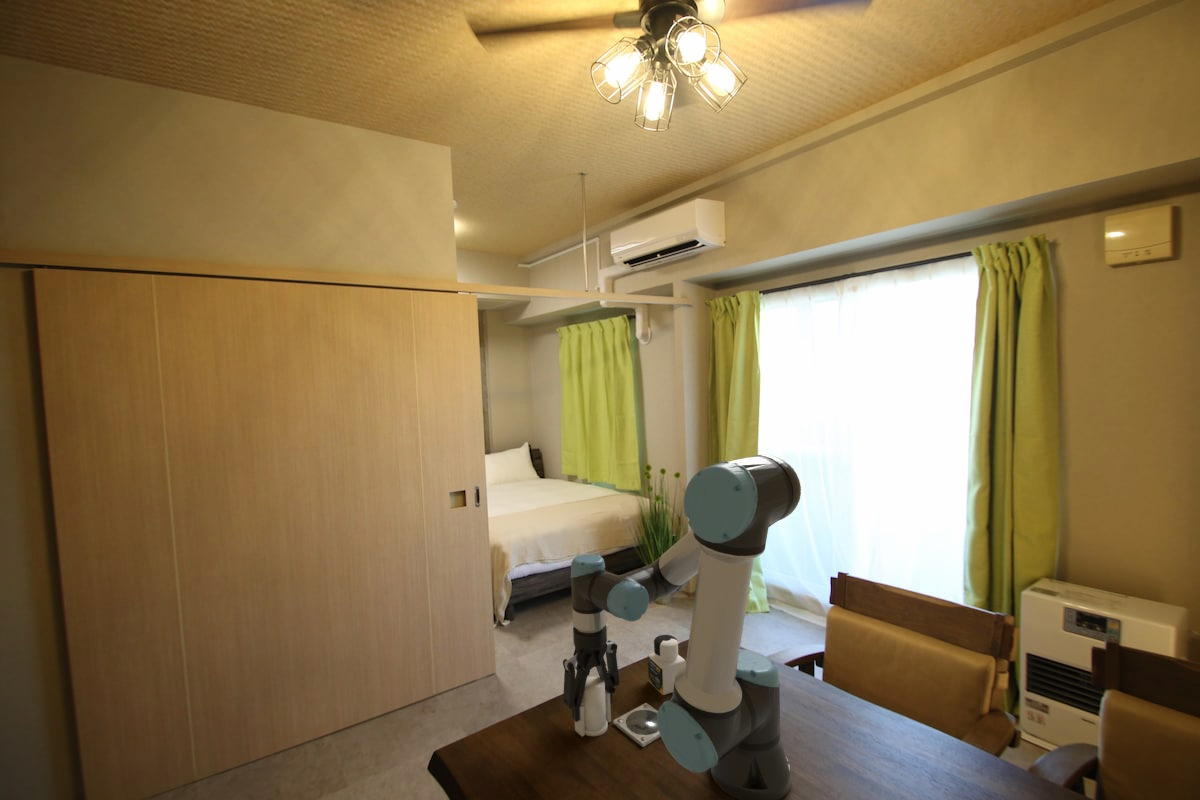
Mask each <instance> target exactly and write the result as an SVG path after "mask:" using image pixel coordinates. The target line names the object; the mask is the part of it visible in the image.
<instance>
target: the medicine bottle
mask: <svg viewBox="0 0 1200 800" xmlns="http://www.w3.org/2000/svg"><path fill="white" fill-rule="evenodd" d="M684 666H686V659H684V658H683V657H682V656H681V655H679V640H678V639H677V638H676V637H675V636H673V635H670V634H660V635H658V636H656V637H655V638H654V640H653V653H650V654H648V655H647V668H648V669H647V671H648V672H647V675H648V678H647V679H648V682H649V683H650V684H651V685H652V686H653V687H654V688H655V689H656V690H657V691H658V693H660V694H661V695H662V696H665V695H668V694H671V693H672V694H673V690H674V682H675V677H676V674H677V672H678V671H679V670H680V669H681V668H682V667H684Z"/></svg>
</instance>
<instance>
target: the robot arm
mask: <svg viewBox="0 0 1200 800" xmlns="http://www.w3.org/2000/svg"><path fill="white" fill-rule="evenodd" d="M692 476H693V477H692V478H691V479H690V480H689V482H688V483H687V485H686V488H685V491H684V494H683V511H684V512H683V513H684V516H685V517H687V518H688V521H687V523H688V525H689V527H690V530H689V531H688V532H687V533H686V534H685V535H683V536H682V537H681V538H680V539H679V540H677V541H676V542H675V543H674V544H673V545H672V546H671V547H669V549H667V550H666V551H665V552H664V553H663V554H661V556H659V557H658V558H657V559H656V560H654V561H653V562H652V563H650V564H648V565H645V566H642V567H639V568H637V569H633V570H631V571H628V572H626V573H623V574H619V575H618V574H615V573H612V572H609V571H608V570H606V563H605V559H604V558H603V557H602V556H601V555H599V554H594V553H586V554H581V555H577V556H575V557H574V558H573V559H572V561H571V566H570V577H569V578H570V582H571V583H570V586H571V588H570V589H571V602H572V603H571V605H572V608H571V609H572V626H573V629H572V634H573V636H572V637H573V638H572V639H573V645H574V652H573V655H572V657H570V658H569V659H567V658H564V659H563V661H562V665H563V669H564V674H563V675H564V677H563V678H564V679H563V695H562V696H563V699H562V700H563V701H562V703H563V704H564V705H565V706H566V707H568V708H569V709H571V718H572V720H573V721H574V731H575V732H576V733H577V734H578V735H579V736H581V737H584V736H585V724H584V706H583V705H582V704H581V702H582V697H583V693H584V688H585V684H586V680H587V677H590V676H589V675H590V672H591V670H592V669H593V668H596V671H597V675H598V677H599V678H601V679H603V680H604V682H605V703H606V719H607V722H608V723H610V722H611V721H612V714H611V712H612V711H611V705H612V704H613V701H614V700H613V694H614V693H616V688H615V687H618V686H619V685H620V676H619V668H618V667H619V666H618V658H617V651H618V644H616V643H615V642H613V641H612V640H611V639H610V640H608V631H607V630H608V629H607V613H609V614H611V615H612V616H614V617H615V618H618V619H622V620H625V621H627V622H636V621H639V620H640V619H641V618H642V616H643V615H644V614H646V612H647V609H648V608H649V605H651V604H652V603H654V602H656V601H658V600H661V599H663V598H665V597H668V596H672V595H674V594H676V593H678V592H680V591H682V590H683V589H684V588H685V587H686V585H687V582H688V581H690V580H691V579H692V578H693V577H695V576H696V575H697V576H696V584H695V592H694V599H693V606H692V607H693V608H692V612H691V613H692V615H691V621H690V631H689V638H688V646H687V654H686V659H685V661H686V666H684V667H682V668H681V669H680V670H679V671H678V672H677V674H676V677H675V682H674V690H673V692H672V695H671V698H670V699H669V700H666V701H663V703H662V705H661V706H659V708H658V710H657V711H658V713H657V725H658V729H659V733H660V735H661V737H660V738H661V740H662V741H663V743H664V745H665V747H666V748H665V749H666V750H667V751H668V752H669V754H670V755H671V756H672V758H673V759H674V760H675V761H676V762H677V764H679V765H680V766H681V767H683V768H684V769H686V770H687V771H690V772H692V773H696V774H698V773H699V774H701V773H704V772H706V771H708V770H709V769H710V773H711V777H712V779H713V781H714V783H715V784H716V785H717V786H718V787H719V788H720V790H722V791H723V792H724V793H725V794H726V795H728V796H730V797H732V798H734V799H736V800H782V798H785V796H786V795H787V794H788V792H789V791H790V789H791V785H792V769H791V765H790V762H789V759H788V757H787V756H786V753H785V749H784V746H783V745H784V744H783V742H782V739H781V709H780V708H781V707H780V706H781V705H780V704H781V702H780V698H781V697H780V694H781V693H780V686H781V682H780V677H779V669H778V667H777V665H776V664H775V662H774V661H773V660H772V659H770V658H769V657H767V656H766V655H764V654H762V653H759V652H756V651H753V650H750V649H742V648H741V644H742V638H743V632H744V631H743V630H744V624H745V619H746V610H747V605H748V598H749V591H750V585H751V577H752V572H753V571H752V570H753V564H754V559H756V558H757V557H759V556H760V555H762V554H764V552H765V549H766V545H767V539H768V534H769V528H770V527H771V526H772V525H774V524H776V523H778V522H779V521H781V520H783V519H785V518H787V517H788V516H790V515H791V514H792V513H794V511H795V510H796V508H797V507H798V504H799V503H800V499H801V494H802V486H801V481H800V479H799V476H798V474H797V472H796V471H795V470H794V468H793V467H792V466H791V465H790V464H789V463H788V462H786V461H785V460H784V459H782V458H780V457H777V456H774V455H771V454H757V455H752V456H748V457H745V458H744V457H743V458H738V459H735V460H731V461H730V460H726V461H725V460H724V461H720V462H715V463H713V464H712V465H709V466H706V467H703V468H702V469H701V470H699V471H697V472H696V473H695V474H694V475H692ZM604 656H605V658H604ZM605 659H606V661H605ZM575 673H576V677H575Z"/></svg>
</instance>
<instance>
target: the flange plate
mask: <svg viewBox="0 0 1200 800" xmlns="http://www.w3.org/2000/svg"><path fill="white" fill-rule="evenodd" d="M657 713H658V710H657V709H656V708H654V707H653V706H652V705H650V704H649V703H647V702H645V703H643V704H640V705H638V706H637V707H636V708H633V709H631V710H630V711H628V712H626V713H624V714H622V715H620V716H619V717H616V718H615V719H613V720H612V722H613V725H614V726H615V727H617V729H619V730H620V731H622V732H623V733H624V734H626V735H627V736H628V737H629V738H630V739H632V740H633V741H634V742H635V743H636V744H638V745H639V746H640V747H642V748H644V747H647V745H649V744H651V743H652V742H655V741H656V740H658V739H659V738H661V735H660V733H659V729H658V725H657Z"/></svg>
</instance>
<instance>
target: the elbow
mask: <svg viewBox="0 0 1200 800" xmlns="http://www.w3.org/2000/svg"><path fill="white" fill-rule="evenodd" d="M576 673H577V672H575V677H576ZM581 704H582V705H583V706H584V724H585V735H586V736H587V737H598V736H601V735H603V734H605V733H606V732H607V730H608V727H609V725H608V723H609V722H607V719H606V703H605V682H604V680H603V679H601V678H600V676H587V680H586V684H585V688H584V693H583V697H582V702H581ZM585 735H584V736H585Z"/></svg>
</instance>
